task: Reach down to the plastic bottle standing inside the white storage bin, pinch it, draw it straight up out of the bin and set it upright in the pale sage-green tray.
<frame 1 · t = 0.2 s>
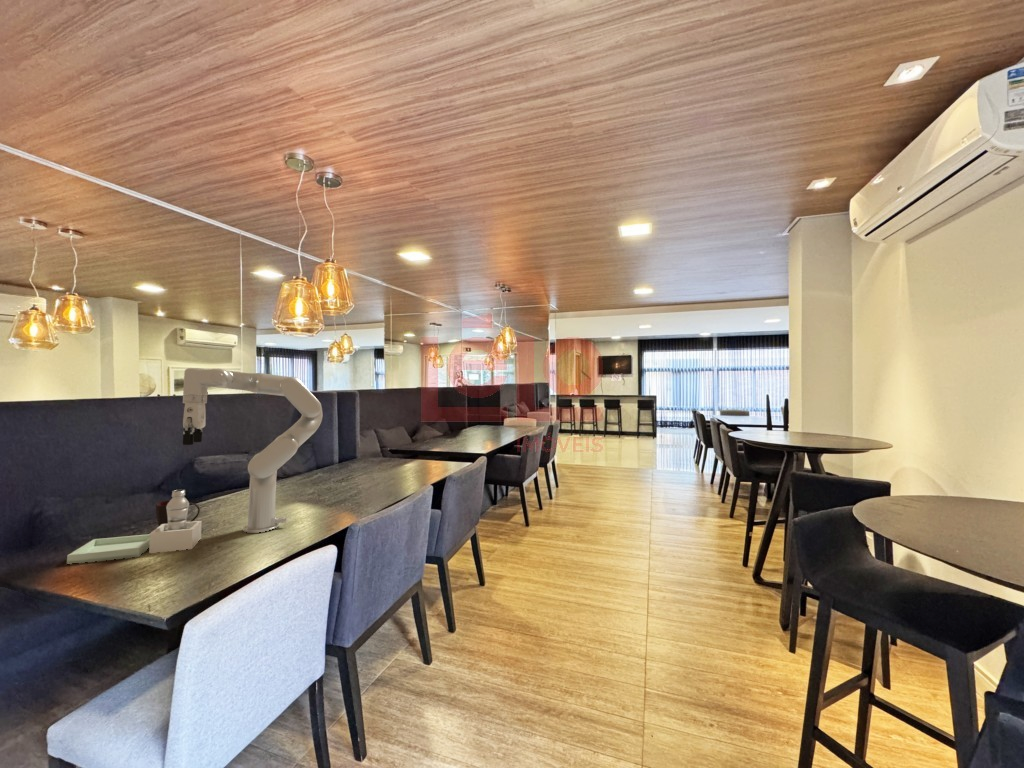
hand: (192, 443, 161), 36 cm above the table, tool pointing down, fingers open, 9 cm apart
tray: (115, 552, 142), on the table
white storage bin: (176, 546, 149), on the table
plastic bottle: (176, 546, 149), resting in white storage bin
mug: (177, 532, 165), on the table
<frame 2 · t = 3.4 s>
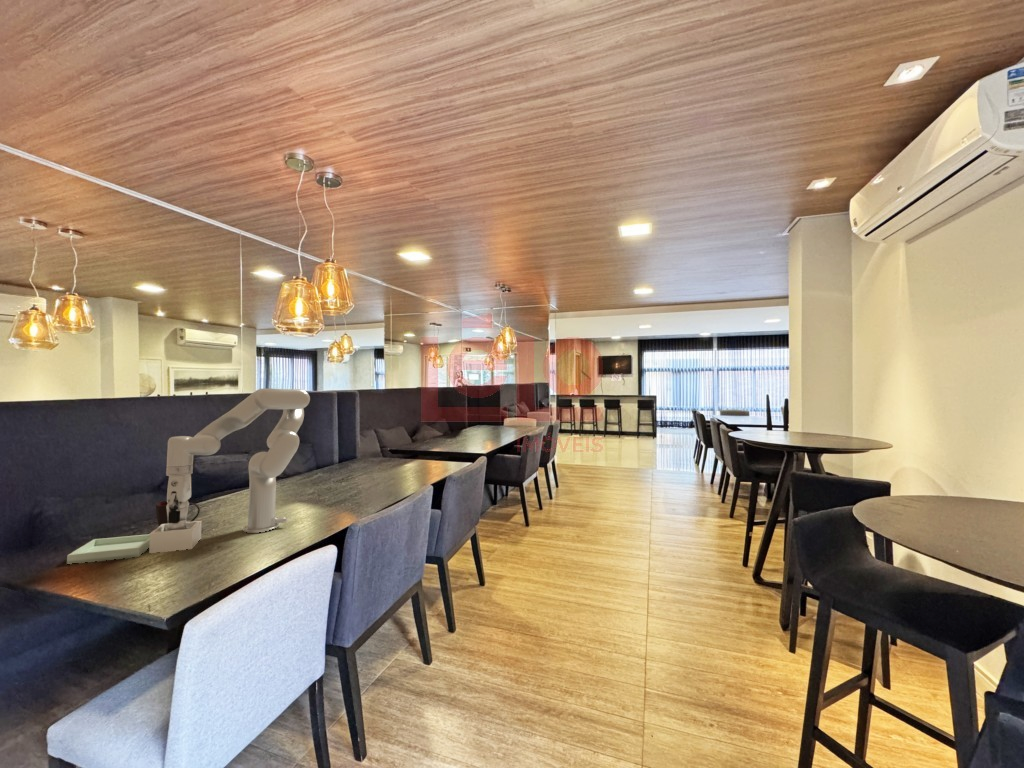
hand: (177, 519, 149), 10 cm above the table, tool pointing down, fingers closed on plastic bottle, 6 cm apart
plastic bottle: (176, 546, 149), resting in white storage bin, touching gripper
everything else where it was.
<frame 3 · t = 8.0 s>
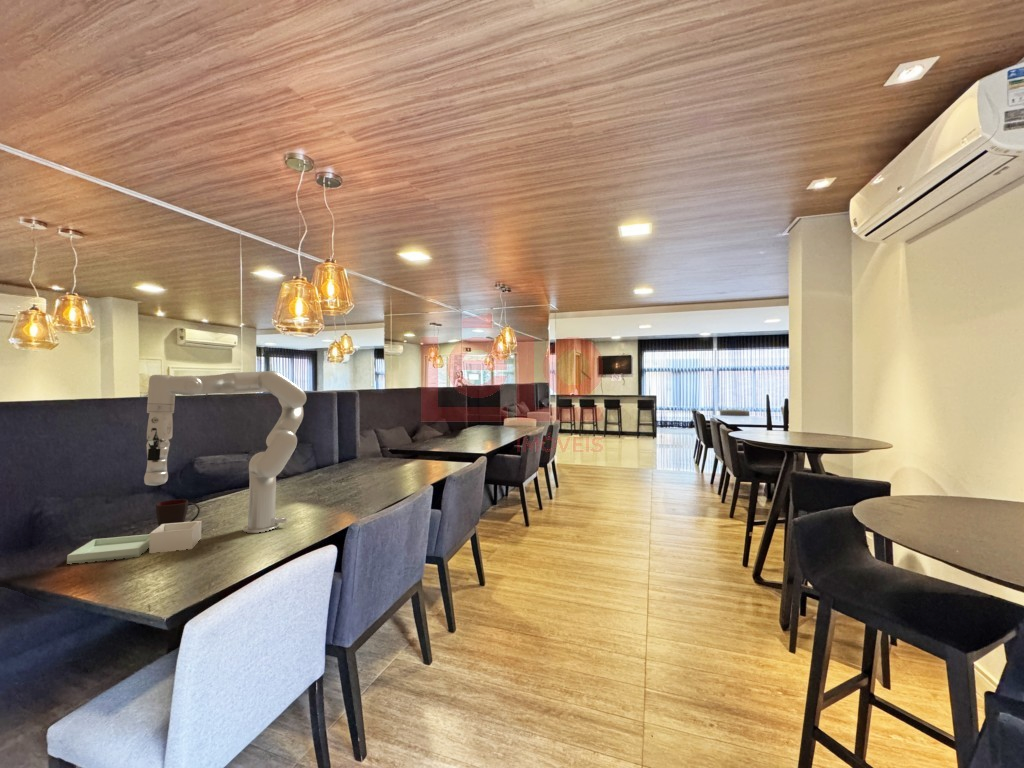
hand: (157, 458, 147), 32 cm above the table, tool pointing down, fingers closed on plastic bottle, 6 cm apart
plastic bottle: (155, 485, 147), point 22 cm above the table, touching gripper
everything else where it was.
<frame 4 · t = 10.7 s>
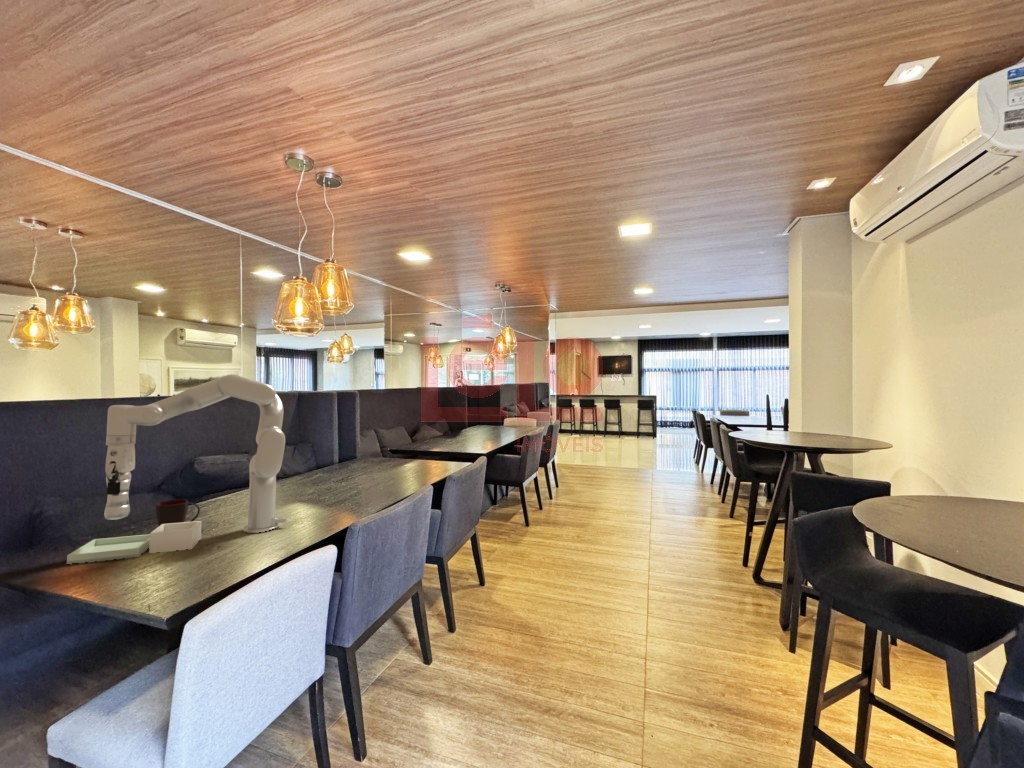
hand: (118, 491, 143), 21 cm above the table, tool pointing down, fingers closed on plastic bottle, 6 cm apart
plastic bottle: (116, 519, 143), point 11 cm above the table, touching gripper
everything else where it was.
when the fingers open (12 cm above the table, at t = 12.9 s): plastic bottle drops 1 cm, resting on tray.
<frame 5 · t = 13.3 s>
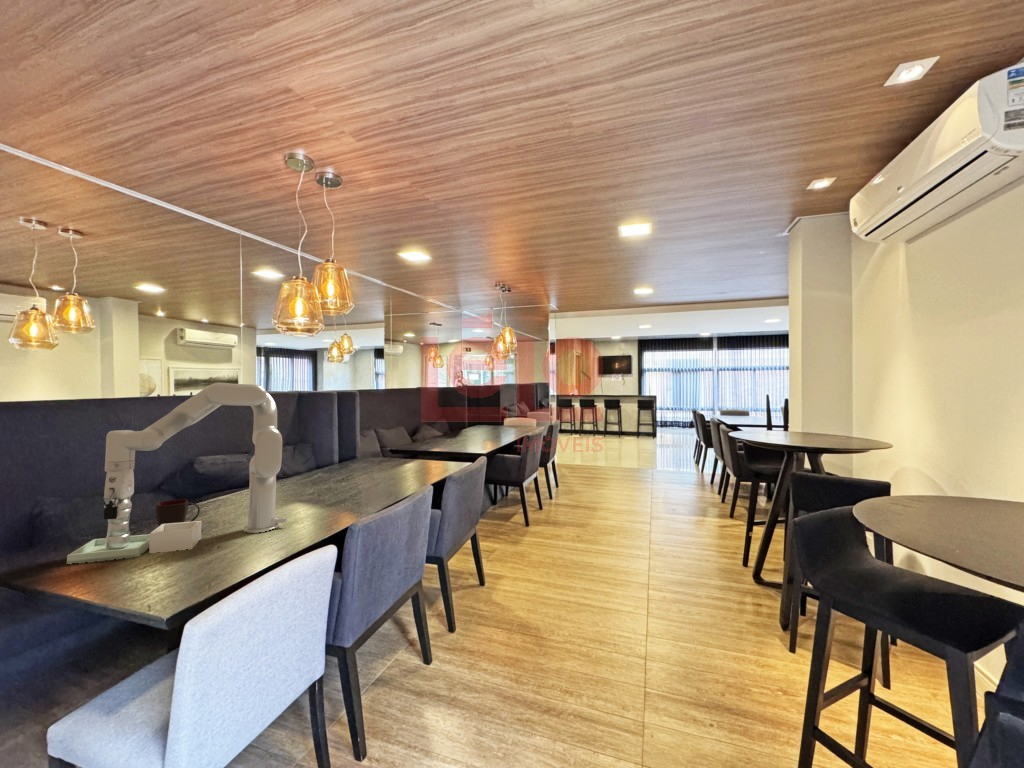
hand: (117, 515, 143), 13 cm above the table, tool pointing down, fingers open, 9 cm apart
plastic bottle: (117, 548, 143), point 1 cm above the table, touching tray
everything else where it was.
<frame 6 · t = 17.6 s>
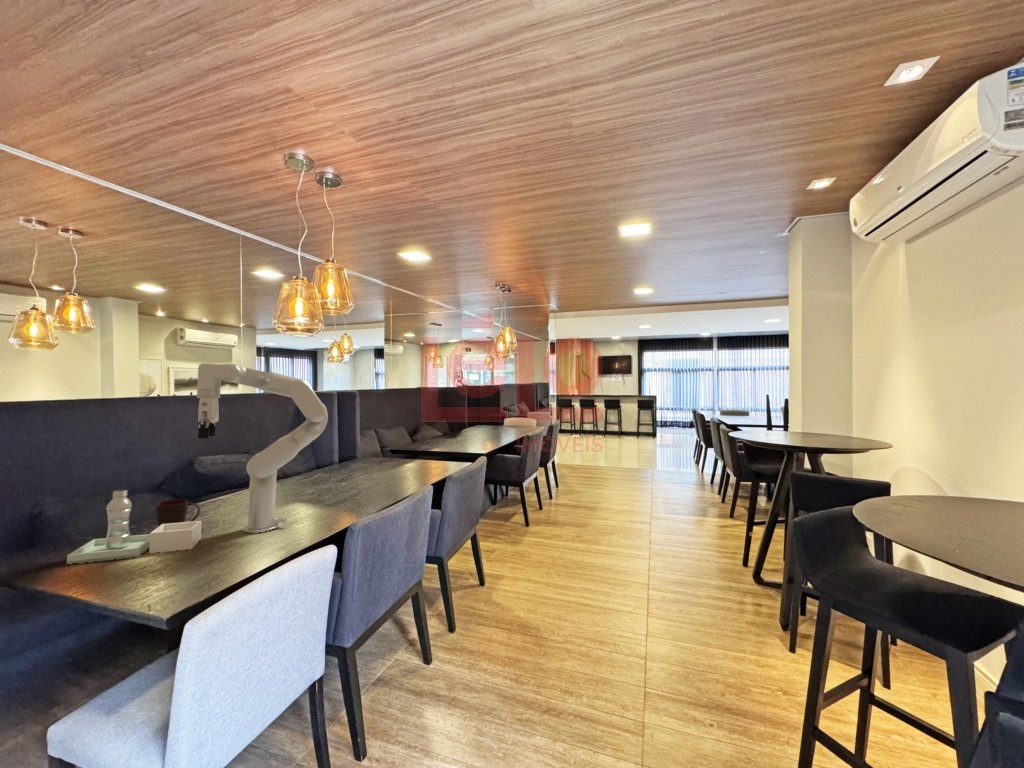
hand: (206, 437, 163), 38 cm above the table, tool pointing down, fingers open, 9 cm apart
nothing on the table moved.
at the end: plastic bottle inside the target area on the tray (1.1 cm from its centre), point 0.8 cm above the tray's base; plastic bottle tilted 0°; the gripper is holding nothing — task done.
